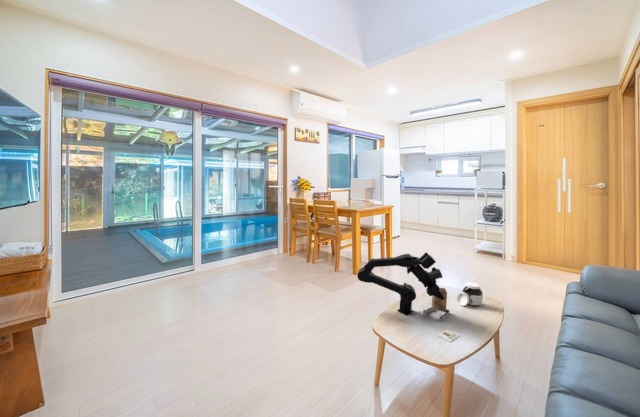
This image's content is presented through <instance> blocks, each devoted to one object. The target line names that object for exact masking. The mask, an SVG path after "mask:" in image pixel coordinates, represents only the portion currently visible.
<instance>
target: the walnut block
mask: <svg viewBox="0 0 640 417" xmlns="http://www.w3.org/2000/svg"><path fill="white" fill-rule="evenodd" d="M439 288H440V289H439V291H440V293H441V294H442V296H443V297H444V299H443V300H442V299H440V298H437V297H435V296H431V307H433V311H436V312H442V311H446V309H447V302H448V301H447V300H448V298H447V297H448V291H447V290H446V288H445V287H439Z"/></svg>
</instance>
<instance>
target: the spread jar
mask: <svg viewBox="0 0 640 417" xmlns="http://www.w3.org/2000/svg"><path fill="white" fill-rule="evenodd" d="M480 287H481V285H480V284H479V283H477V282H473V281H471V282H470V281H468V282H466V283H465V286H464V287H463V289H462V292H460V293H458V294H457V296H456V302H457V304H458V305H459V306H463V307H464V306H469V307H473V308H476V307H477V308H478V307H479V306H481V304H482V303H483V297H484V296H483V295H484V294H483V291H482V289H481V288H480Z"/></svg>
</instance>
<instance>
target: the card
mask: <svg viewBox="0 0 640 417" xmlns="http://www.w3.org/2000/svg"><path fill="white" fill-rule="evenodd" d="M437 337H439V338H441V339H444V340H445V341H448V342H450V343H452V342H453V341H455V340H456V339H458V337H460V334H457V333H455V332H453V331H451V330H449V329H446V330H444V331H442V332H441V333H439V334H438V335H437Z"/></svg>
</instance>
